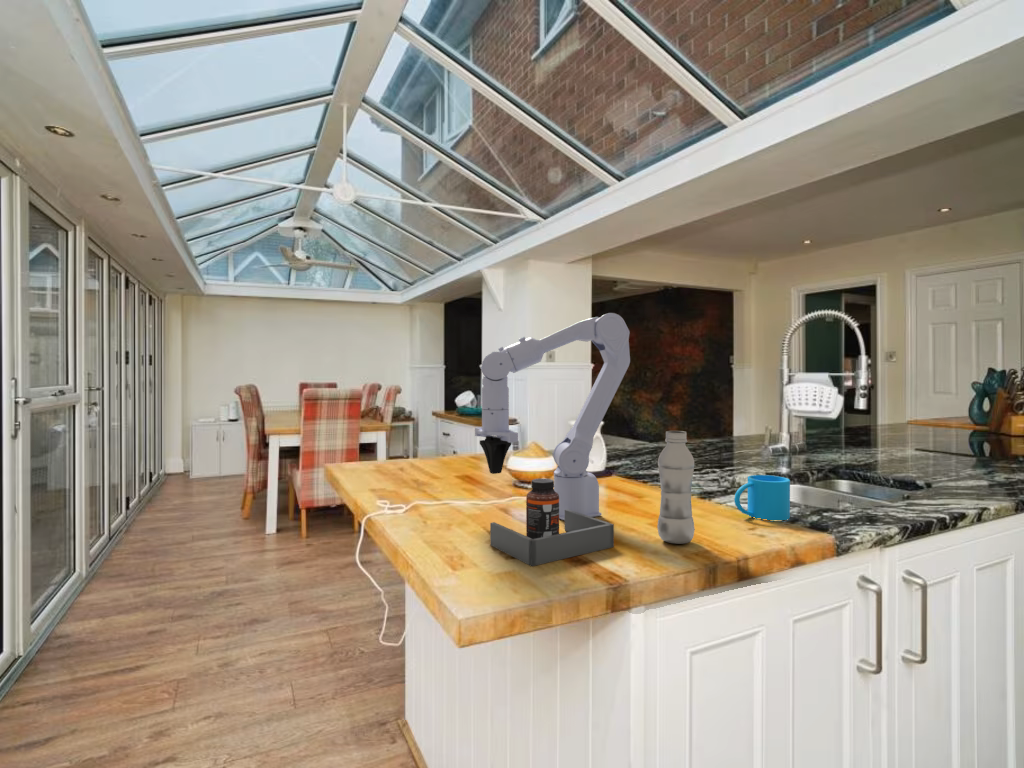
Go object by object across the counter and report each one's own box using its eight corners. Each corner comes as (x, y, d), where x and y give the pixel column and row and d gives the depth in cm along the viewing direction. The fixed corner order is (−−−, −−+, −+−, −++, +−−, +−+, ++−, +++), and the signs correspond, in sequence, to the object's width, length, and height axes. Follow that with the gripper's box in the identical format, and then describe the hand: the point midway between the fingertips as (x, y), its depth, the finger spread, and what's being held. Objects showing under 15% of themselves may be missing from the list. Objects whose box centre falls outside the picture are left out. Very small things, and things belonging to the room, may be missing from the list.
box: (567, 529, 106) (567, 509, 106) (613, 546, 96) (613, 524, 96) (490, 545, 97) (490, 522, 97) (531, 566, 86) (531, 541, 86)
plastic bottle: (694, 538, 100) (695, 430, 100) (694, 549, 94) (694, 434, 94) (658, 535, 103) (658, 429, 102) (655, 546, 96) (656, 433, 96)
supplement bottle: (557, 548, 95) (556, 484, 95) (523, 546, 96) (523, 482, 96) (561, 538, 101) (560, 477, 100) (529, 536, 102) (529, 476, 102)
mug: (772, 510, 121) (772, 474, 121) (798, 520, 113) (799, 481, 113) (723, 513, 119) (723, 476, 118) (746, 523, 111) (746, 483, 110)
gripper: (462, 408, 120) (463, 469, 120) (497, 411, 108) (497, 480, 108) (490, 407, 124) (490, 466, 124) (526, 410, 111) (526, 476, 112)
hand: (495, 473), depth 116 cm, fingers closed
